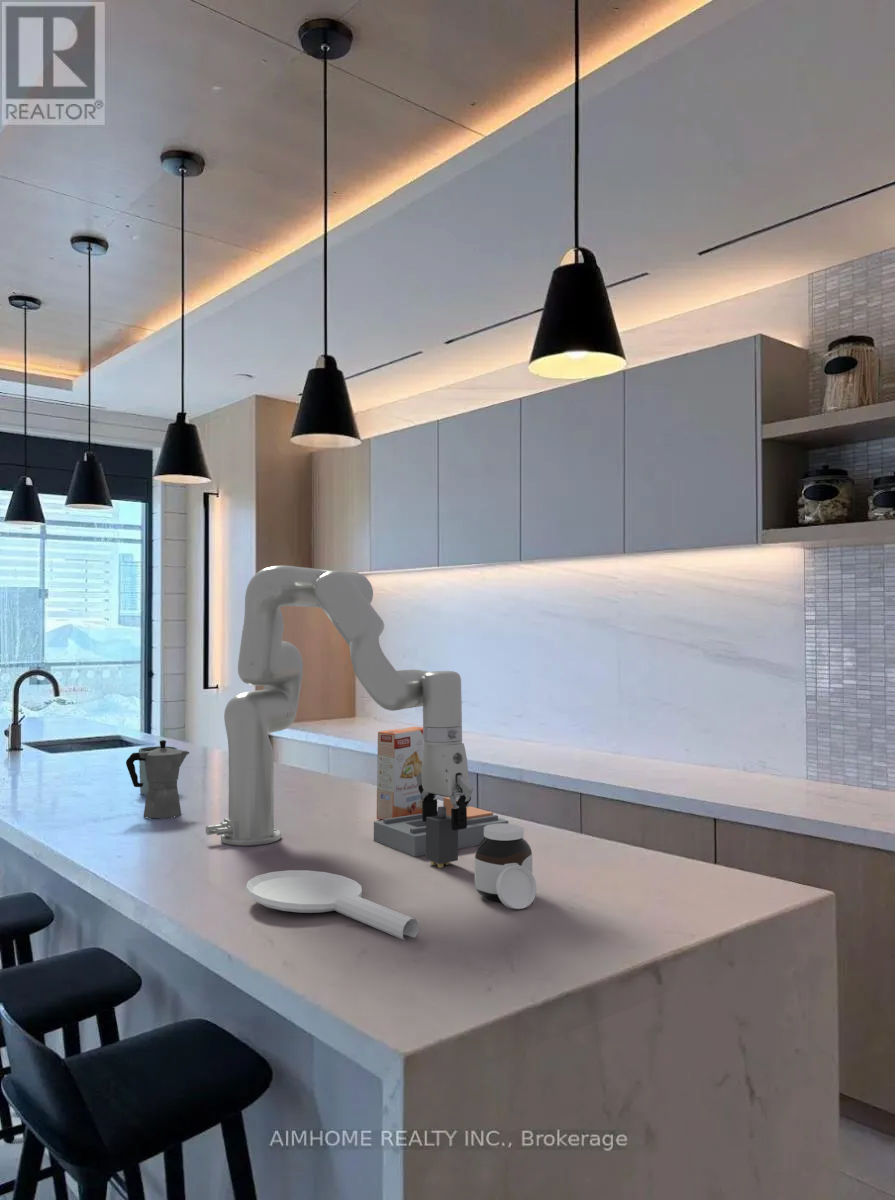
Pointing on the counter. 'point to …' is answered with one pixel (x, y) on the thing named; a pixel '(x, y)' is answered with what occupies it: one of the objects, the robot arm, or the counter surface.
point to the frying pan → (326, 899)
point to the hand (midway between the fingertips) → (444, 824)
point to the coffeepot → (159, 780)
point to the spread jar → (505, 866)
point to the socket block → (412, 833)
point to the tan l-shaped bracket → (471, 811)
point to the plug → (441, 839)
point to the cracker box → (399, 772)
